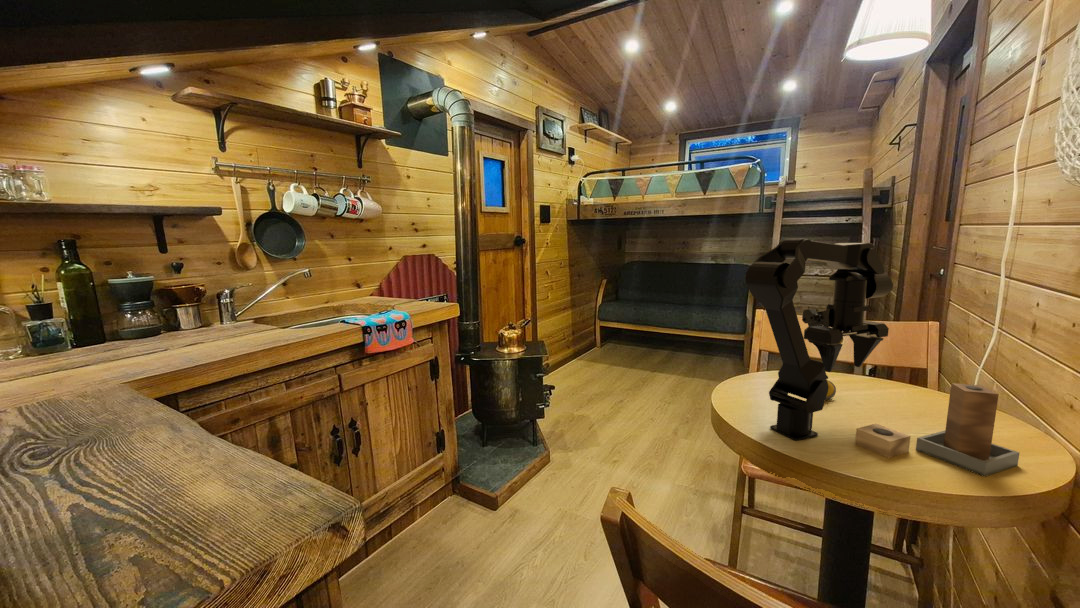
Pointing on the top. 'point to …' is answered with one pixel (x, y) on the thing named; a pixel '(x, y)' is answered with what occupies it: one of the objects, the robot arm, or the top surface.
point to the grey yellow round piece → (830, 390)
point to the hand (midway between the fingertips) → (842, 369)
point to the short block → (882, 440)
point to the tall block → (971, 420)
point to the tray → (996, 462)
